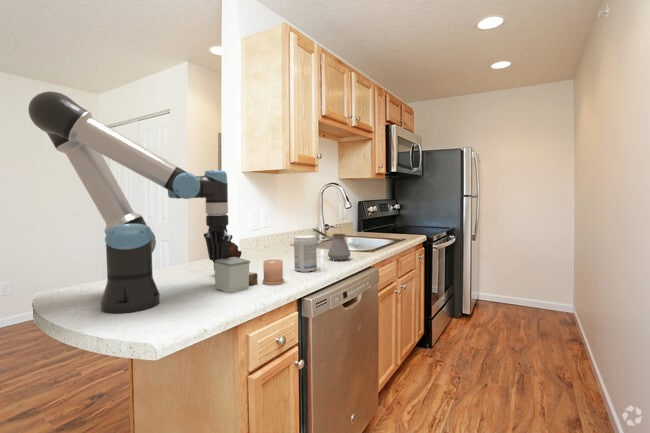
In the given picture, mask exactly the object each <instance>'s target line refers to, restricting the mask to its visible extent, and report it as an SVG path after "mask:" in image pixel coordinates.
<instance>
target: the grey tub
mask: <svg viewBox="0 0 650 433" xmlns="http://www.w3.org/2000/svg"><path fill="white" fill-rule="evenodd" d="M215 263H216V268H215V271H214V283H215V284H214V288H215V289H217V290H219V291H222V292H224V293H227V294H231V293H236V292H239V291H243V290H248V289H249V288H250V286H249V272H250V264H251V260H249V259H245V258H242V257H240V258H238V257H231V258H225V259H218V260H215Z"/></svg>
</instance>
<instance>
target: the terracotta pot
mask: <svg viewBox="0 0 650 433" xmlns="http://www.w3.org/2000/svg"><path fill="white" fill-rule="evenodd" d="M283 263H284V262H283V260H281V259H266V260H263V279H262V285H265V286H280V285H282V284H284V283H285V279H284V273H283V272H284V271H283V270H284V268H283V267H284V266H283V265H284V264H283ZM279 284H280V285H279Z"/></svg>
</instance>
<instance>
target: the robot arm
mask: <svg viewBox="0 0 650 433" xmlns="http://www.w3.org/2000/svg"><path fill="white" fill-rule="evenodd" d="M28 116H29V118H30V120H31V121H32V123H33V124H34V125H35V126H36V127H37V128H38V129H40V130H41V131H42V132H45V133H46V134H47V135H48V137H49V139H50V141H51V143H52V144H53V147H55V149H56V150H57V151H58V152H60V153H63V154H65V156H66V157H67V158H68V160H69V162H70V164H71V166H72V167H73V169H74V171H75V172H76V174H77V175H78V177H79V180H80V181H81V183H82V185H83V186H84V188H85V190H86V191H87V193H88V194H89V197H90V198H91V200H92V202H93V204H94V205H95V207H96V209H97V211H98V212H99V214H100V215H101V218H102V219H103V220H104V222H105V224H106V225H105V228H104V233H105V238H104V242H105V246H106V247H105V250H106V251H105V253H106V276H107V277H106V278H107V281H106V285H105V288H104V292H103V294H102V297H101V301H100V310H101V311H102V312H105V313H111V314H112V313H113V314H115V313H116V314H119V313H132V312H138V311H142V310H147V309H150V308H152V307H155V306H157V305H159V303H160V302H161V300H160V296H161V295H160V292H159V290H158V287H157V285H156V282H155V279H154V277H153V276H154V275H153V252H154V250H155V249H156V243H157V242H156V241H157V240H156V236H155V233H154V232H153V231H152V228H151V227H150V226H149V225H147V222H146V221H145V219H144V217H143V216H142V214H139V213H136V212H134V210H133V208H132V207H131V204H130V203H129V201H128V199H127V197H126V196H125V194H124V192H123V190H122V188H121V186H120V184H119V183H118V181H117V179H116V178H115V176H114V174H113V172H112V170H111V168H110V166H109V165H108V163H107V161H106V159H105V158H104V157H107V158H108V159H110V160H112V161H113V162H116V163H117V164H119V165H120V166H121V165H122V166H124V167H125V168H127V169H129V170H131V171H132V172H135V173H136V174H138V175H140V176H142V177H143V178H145V179H147V180H149V181H150V182H153V183H154V184H157V185H158V186H160V187H162V188H164V189H166V190H167V196H168V198H170V199H176V200H177V199H184V200H188V199H200V198H201V199H204V198H205V214H206V216H205V224H206V226H207V227H208V229H207V230H208V231H207V232H205V233H203V237H204V239H205V243H206V249H207V253H208V254H207V255H208V258H209V261H212V262H213V271H214V272H215V268H216V263H215V260H218V259H225V258H228V255H229V249H230V242H232V240H233V235H232V234H229V233H228V229H227V226H228V225H229V215H228V214H229V196H228V195H229V194H228V193H229V191H228V190H229V186H228V184H229V183H228V175H227V172H226V171H224V170H217V169H216V170H215V169H214V170H211V169H210V170H205V171H204V175H200V176H199V175H197V176H196V175H194V174H193V173H191V172H189V171H185V170H184V169H183V168H180V167H179V166H177V165H175V164H173V163H172V162H170V161H168V160H167V159H165V158H163V157H161V156H160V155H158V154H157V153H154V152H152V150H149V149H147V148H146V147H144V146H142V145H141V144H139V143H137V142H135V141H134V140H132V139H130V138H129V137H126V136H124V135H123V134H121V133H119V132H117V131H116V130H114V129H112V128H111V127H109V126H107V125H106V124H103V123H102V122H100V121H98V120H97V119H95V118H93V114H92V112H90V111H88V110H87V109H85V108H84V107H82V106H80V105H79V104H77V103H76V102H75V101H74V100H73V99H71V98H70V97H69V96H68V95H66V94H63V93H61V92H59V91H58V92H57V91H44V92H41V93H38V94H36V95H34V97H32V98H31V100H30V102H29V104H28Z"/></svg>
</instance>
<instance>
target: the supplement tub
mask: <svg viewBox="0 0 650 433" xmlns="http://www.w3.org/2000/svg"><path fill="white" fill-rule="evenodd" d="M293 251H294V252H293V253H294V255H293V257H294V258H293V259H294V260H293V261H294V270H295V271H296V272H299V271H300V272H301V273H307V272H308V273H310V271H312V272H315V271H316V270H317V268H318V265H317V264H318V260H317V238H316V235H311V234H310V235H309V234H307V235H306V234H305V235H302V234H301V235H295V236H294V237H293Z"/></svg>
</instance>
